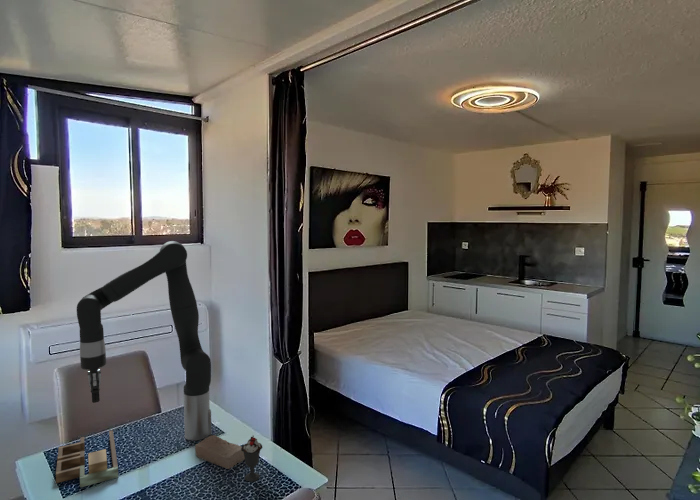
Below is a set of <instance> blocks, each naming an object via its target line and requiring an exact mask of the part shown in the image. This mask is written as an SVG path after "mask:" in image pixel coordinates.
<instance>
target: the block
mask: <svg viewBox="0 0 700 500" xmlns="http://www.w3.org/2000/svg"><path fill="white" fill-rule="evenodd" d="M107 456H108V455H107V449H106V448H105V449H101V450H97V451H92V452H88V457H87V458H88V474H91V473H95V472H98V471H102V470H106V469H108V459H107Z"/></svg>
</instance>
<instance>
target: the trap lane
mask: <svg viewBox="0 0 700 500" xmlns="http://www.w3.org/2000/svg"><path fill="white" fill-rule="evenodd" d="M108 432H109V435H108V436H109V437H108V438H109V439H108V440H109V445H110V446H109V447H110V454H111V455H110V456H111V463H112V464H111V465H112V467H110V468H107V469H106V470H102V471H98V472H95V473H91V474H89V473H87V474H85V463H86V462H85V459H86V458H85V452H86V451H85V450H86V449H85V446H86V445H85V436H81V437H80V438H79V440H80V441H79V442H75V443H71V444H67V445H62V446H59V447H58V450H57V462H56V469H55V482H56V484H59V483H63V482H67V481H71V480H75V479H77V478H79V487H80V488H84V487H87V486H91V485H94V484H98V483H103V482H106V481H109V480H113V479H116V478H119V466H118V459H117V452H116V451H117V450H116V443H115V436H114V430H109V431H108Z"/></svg>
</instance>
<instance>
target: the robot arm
mask: <svg viewBox="0 0 700 500" xmlns="http://www.w3.org/2000/svg"><path fill="white" fill-rule="evenodd" d="M187 259H188V251H187V249H186V247H185V246H184V245H183V244H182V243H180V242H178V241H176V240H175V241H174V240H171V241H170V240H169V241H167V242H165V243H163V245H161V247H160V248H159V251H158V252H157V253H156V254H155V255H154V256H153V257H151V258H150V259H149V260H147V261H145V262H144V263H141V264H139V265H138V266H136V267H134V268H132V269H130V270H128V271H125V272H124V273H122V274H120V275H118V276H117V277H114V278H113V279H111V280H110V281H109V282H107V283H106V284H104V285H103V286H101V287H99V288H97V289H95V290H93V291H91V292H89V293H87V294H86V295H85V296H83V297H82V298H81V299H80V300H79V301H78V303H77V305H76V317H77V322H78V326H79V358H80V361H79V362H80V368H81V369H82V370H85V371H87V370H89V371H87V379H88V386H89V387H90V393H91V403H93V404H94V403H99V402H100V390H101V388H100V385H101V382H102V381H101V377H102V371H101V369H100V368H103V367H105V366H106V364H107V357H106V356H107V355H106V351H107V350H106V344H105V343H106V342H105V337H104V336H105V335H104V326H103V324H102V310H103V309H105V308H106V307H108V306H110V305H111V304H112V303H116V302H118V301H120V300H122V299H123V298H125V297H126V296H128V295H129V294H131V293H133V292H134V291H136V290H137V289H139V288H140V287H142V286H144V285H145V284H146V283H148V282H150V281H151V280H153V279H155V278H157V277H158V276H159V277H160V276H161V275H163V274H165V276H166V280H167V291H168V301H169V307H170V311H171V312H170V313H171V317H172V321H173V325H174V329H175V331H176V335H177V339H178V344H179V354H180V363H181V367H182V368H183V370H184V371H185V384H184V386H183V416H184V417H183V419H184V421H183V423H184V427H183V428H184V438H185V439H186V440H187V441H200V440H204V439H206V438H207V437H209V436H211V435H212V410H211V408H210V404H211V403H210V386H211V381H212V361H211V358H210V356H209V354H207V353H206V352H205V351H204V350H203V348H202V345H201V340H200V338H199V330H198V329H199V322H200V321H199V318H200V316H199V308H198V304H197V300H196V299H197V298H196V295H195V291H194V290H193V287H192V284H191V280H190V278H189V275H188V268H187Z"/></svg>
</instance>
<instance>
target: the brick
mask: <svg viewBox="0 0 700 500" xmlns="http://www.w3.org/2000/svg"><path fill="white" fill-rule="evenodd" d="M194 448H195V456H196V457H198V458H199V459H202V460H205V461H206V462H208V463H211V464H214V465H217V466H220V467H222V468H225V469H227V470H230V469H232V468H234V467H235V466H236V465H238V464H240V463H241V462H243V461H245V457H244V452H243V451H241V448H242V446H241V445H239V444H235V443H232V442H229V441H228V440H225V439H223V438H221V437H219V436H217V435H215V434H213V435H212V434H211V435H209V436H207V437H206V438H203V439H201V441H200V442H198V443H196V444H195V447H194ZM237 463H238V464H237ZM234 465H235V466H234ZM233 466H234V467H233ZM231 467H232V468H231Z"/></svg>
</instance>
